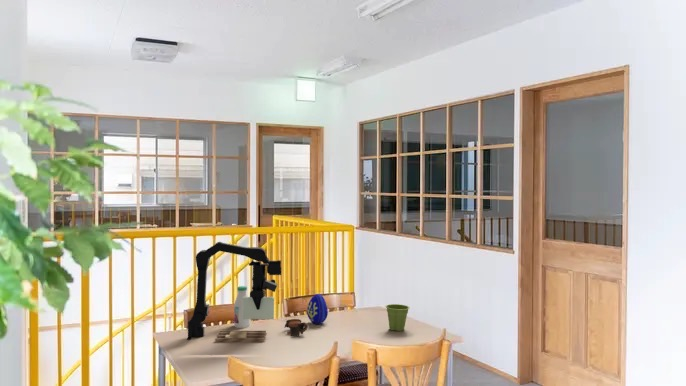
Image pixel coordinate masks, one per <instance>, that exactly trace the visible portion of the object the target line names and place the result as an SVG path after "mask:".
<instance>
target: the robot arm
mask: <svg viewBox="0 0 686 386" xmlns="http://www.w3.org/2000/svg"><path fill="white" fill-rule="evenodd" d="M219 252H221V253H228V254H233V255H238V256H244V257H247V258H249V259H251V261H250V262H249V263H248V266H249V267H250V266H251V267H252V279H251V281H252V286H251V291H250V292H249V297H252V299H253V301H254V303H255V306H256V308H257V310H259V309H260V304H261V299H262V298H263V297H266V296H265V295H266V291H268V290H269V291H271V292H273V293H275V292H276V290H277V287H278V283H276V279H274V278H273V279H270V280H267V277H266V274H268V276H282V260H280V259H279V260H270V258H269V257H268V256H267V255H266V253H267V252H266V250H265V248H263V247H259V246H258V247H257V246H255V247H254V246H253V247H251V246H250V247H249V246H248V247H247V246H241V245H236V244H231V243H225V242H222V241H217V242H216V243H215V244H213V245H212V246H210V247H209V248H207V249H202V250H200V251H199V252H198V253H196V254H195V263H196V264H195V265H196V268H197V285H196V302H195V306H194V310H193V313H192V315H191V317H190V318H189V320H188V321H187V338H186V340H189V341H191V340H192V339H193V338H194V339H197V338H203V337H204V336H205V326H204V323H203V322H205V320H206V318H207V317H208V315H209V314H210V311H209V308H210V304H209V303H208V304H207V301H206V297H207V296H206V295H207V279H208V278H207V276H208V275H207V274H208V269H209V265H210V262H211V257H213V256H214V255H216V254H217V253H219Z"/></svg>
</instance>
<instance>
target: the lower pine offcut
mask: <svg viewBox="0 0 686 386" xmlns="http://www.w3.org/2000/svg"><path fill="white" fill-rule="evenodd" d="M246 337H247V335H246ZM246 337H230V335H226V336H225V338H246Z"/></svg>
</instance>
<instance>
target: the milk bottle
mask: <svg viewBox="0 0 686 386" xmlns="http://www.w3.org/2000/svg"><path fill="white" fill-rule="evenodd" d="M247 291H248V286H246V285H244V286H243V285H241V286H237V296H236V299H235V300H234V305H233V306H234V307H233V308H234V312H233V313H234V314H233V315H234V317H233V318H234V320H233V321H234V323H233V324H234V325H233V326H234V327H235V328H238V329H239V328H240V329H242V328H243V329H247V328H250V327H251V319H243V297H249V296H248V293H247Z"/></svg>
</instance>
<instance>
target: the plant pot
mask: <svg viewBox="0 0 686 386" xmlns="http://www.w3.org/2000/svg"><path fill="white" fill-rule="evenodd" d="M385 308H386V312H387V317H388V328H389V330H391V331H397V332H400V331H404V330H405V326H406V321H407V317H408V313H409V309H410V306H408V305H405V304H399V303H398V304H396V303H395V304H394V303H393V304H392V303H391V304H386V305H385Z"/></svg>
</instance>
